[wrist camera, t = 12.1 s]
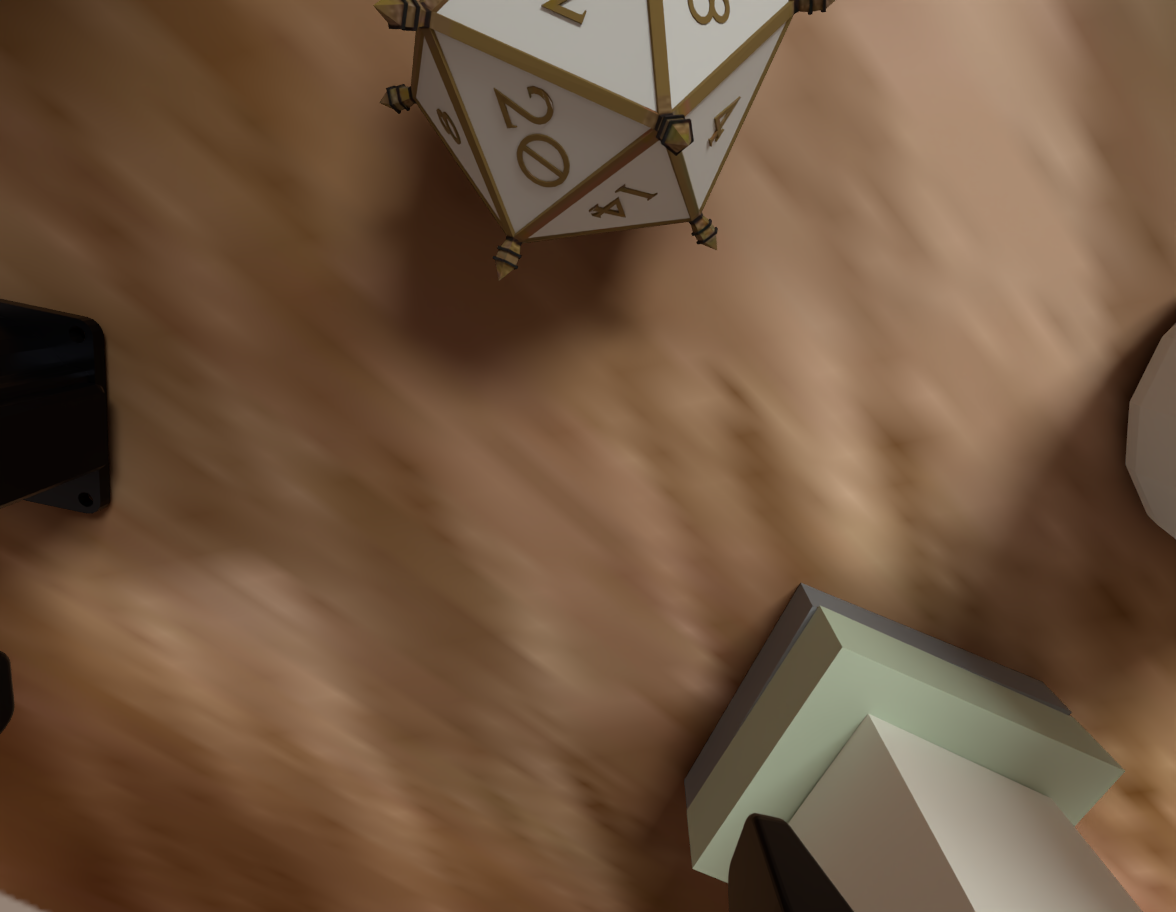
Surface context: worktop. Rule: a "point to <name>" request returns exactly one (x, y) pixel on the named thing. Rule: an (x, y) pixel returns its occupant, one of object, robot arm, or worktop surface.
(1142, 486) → the soap bottle
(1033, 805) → the post
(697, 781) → the slab lower
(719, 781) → the slab upper
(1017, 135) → the worktop surface
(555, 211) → the game die
